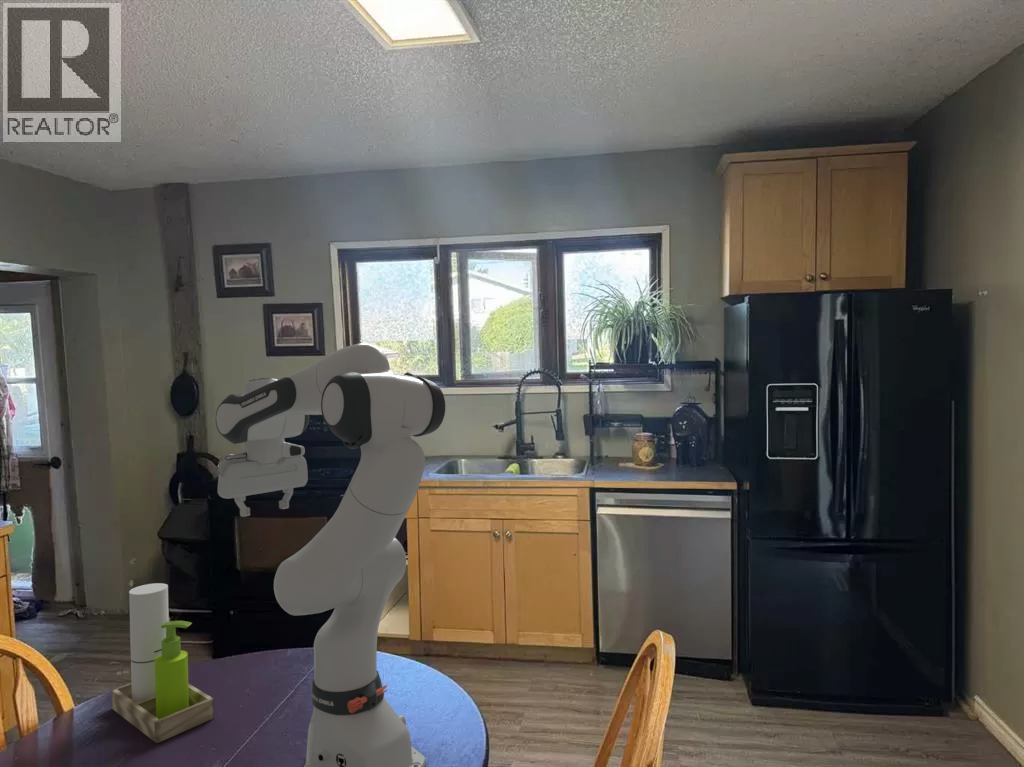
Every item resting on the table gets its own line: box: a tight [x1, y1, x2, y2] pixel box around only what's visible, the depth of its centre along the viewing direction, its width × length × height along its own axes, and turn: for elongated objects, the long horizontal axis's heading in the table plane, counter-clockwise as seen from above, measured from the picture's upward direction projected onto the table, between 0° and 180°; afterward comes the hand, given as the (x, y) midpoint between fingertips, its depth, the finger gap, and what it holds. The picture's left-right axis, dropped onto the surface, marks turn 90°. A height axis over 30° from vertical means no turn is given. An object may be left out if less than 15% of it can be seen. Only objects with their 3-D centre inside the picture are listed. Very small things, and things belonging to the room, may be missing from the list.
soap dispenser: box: [155, 620, 193, 719], centre depth 129 cm, size 6×7×20 cm
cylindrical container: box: [128, 582, 170, 703], centre depth 135 cm, size 7×7×25 cm
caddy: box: [110, 682, 215, 744], centre depth 132 cm, size 21×11×4 cm, turn 52°
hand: (265, 512), depth 143 cm, fingers open, 8 cm apart
